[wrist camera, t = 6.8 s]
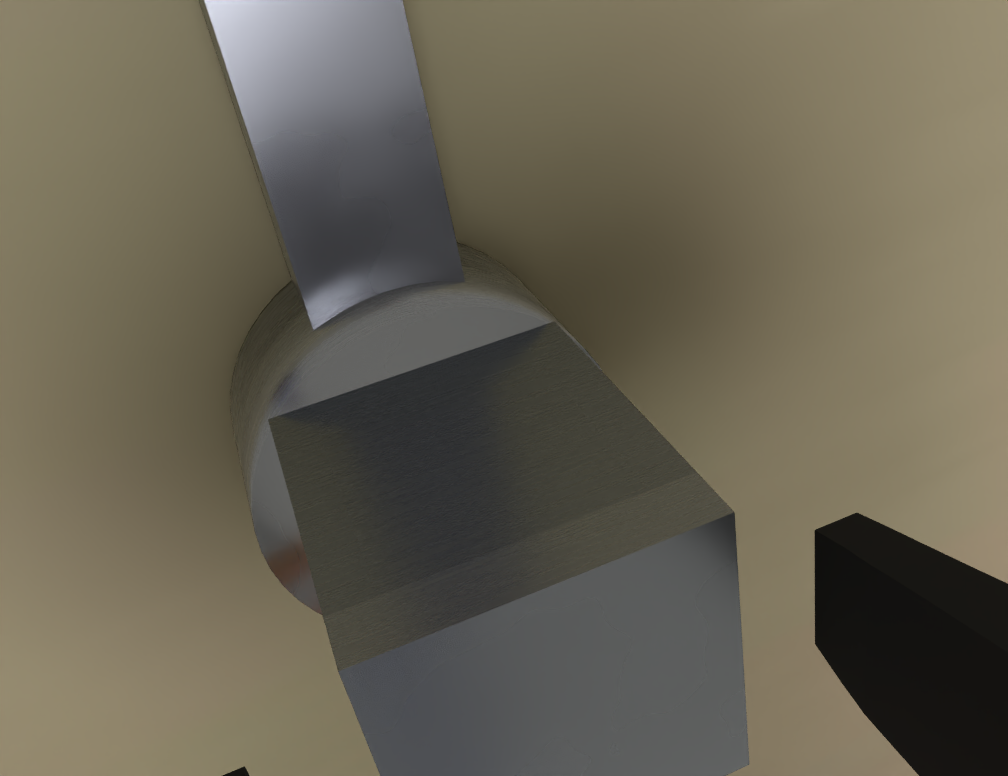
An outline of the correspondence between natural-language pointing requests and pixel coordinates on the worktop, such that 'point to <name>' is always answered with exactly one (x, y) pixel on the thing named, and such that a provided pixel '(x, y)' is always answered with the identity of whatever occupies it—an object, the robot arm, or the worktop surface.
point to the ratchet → (344, 231)
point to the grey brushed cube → (519, 571)
